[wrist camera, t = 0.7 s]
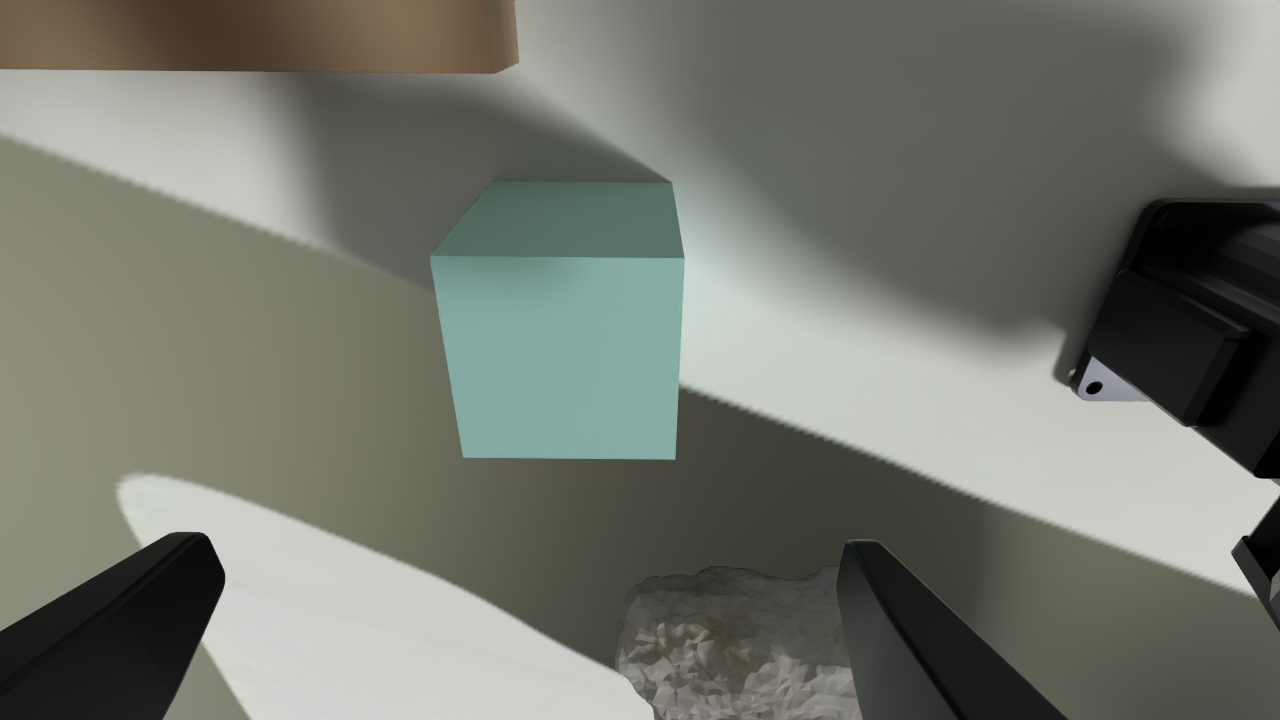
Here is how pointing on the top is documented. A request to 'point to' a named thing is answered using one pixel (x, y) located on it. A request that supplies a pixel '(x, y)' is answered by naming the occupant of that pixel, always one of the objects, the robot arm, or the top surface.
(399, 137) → the top surface
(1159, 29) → the top surface
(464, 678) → the top surface
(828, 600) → the stone
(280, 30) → the walnut base
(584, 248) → the teal block
